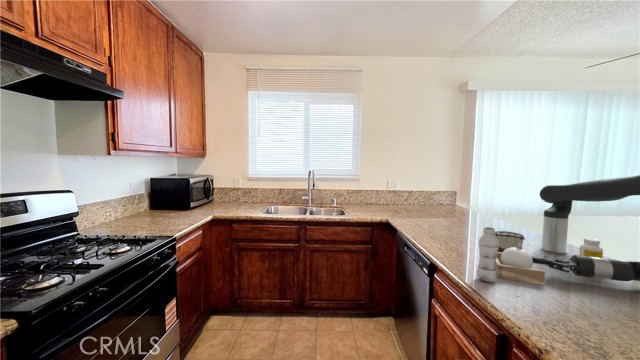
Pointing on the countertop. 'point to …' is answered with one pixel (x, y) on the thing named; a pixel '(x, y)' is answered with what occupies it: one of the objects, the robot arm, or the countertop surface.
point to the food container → (508, 239)
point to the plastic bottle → (488, 255)
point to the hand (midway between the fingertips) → (532, 259)
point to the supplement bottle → (591, 248)
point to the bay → (519, 273)
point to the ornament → (517, 257)
